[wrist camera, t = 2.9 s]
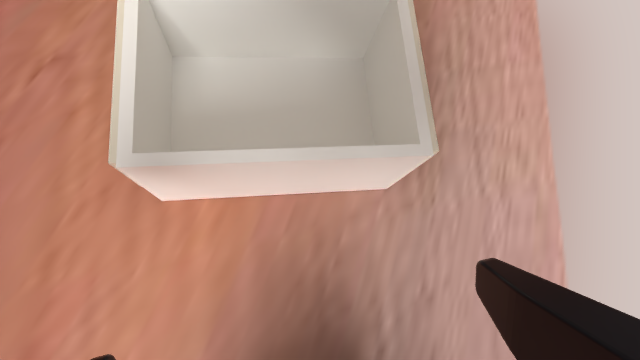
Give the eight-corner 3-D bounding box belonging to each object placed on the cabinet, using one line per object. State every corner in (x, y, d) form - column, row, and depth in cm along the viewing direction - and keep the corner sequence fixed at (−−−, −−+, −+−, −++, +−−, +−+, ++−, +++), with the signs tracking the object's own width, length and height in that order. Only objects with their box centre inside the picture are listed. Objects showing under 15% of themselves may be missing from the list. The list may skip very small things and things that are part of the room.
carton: (390, 188, 24) (439, 155, 17) (156, 201, 22) (107, 168, 15) (372, 55, 26) (409, -21, 20) (159, 52, 24) (119, -34, 17)
